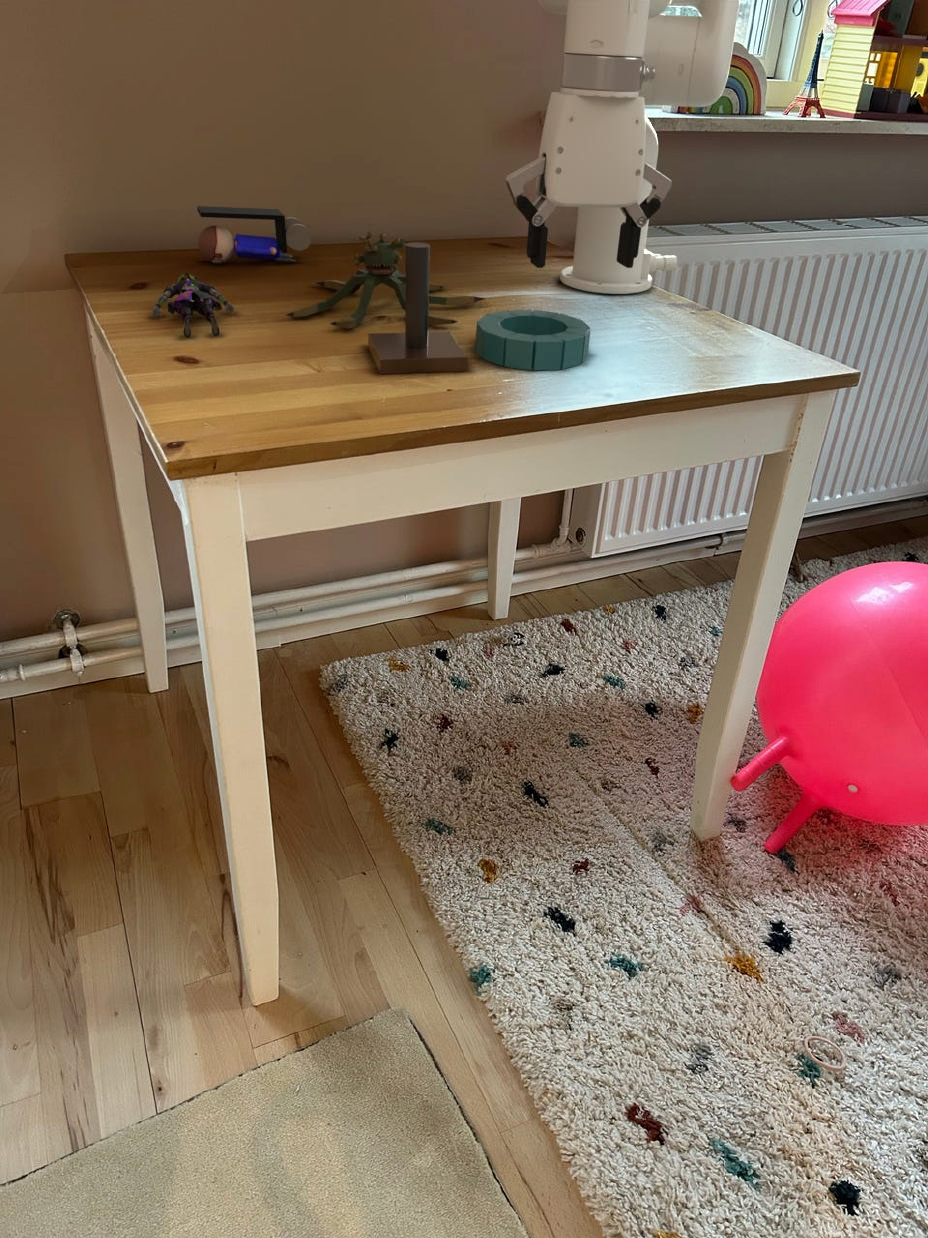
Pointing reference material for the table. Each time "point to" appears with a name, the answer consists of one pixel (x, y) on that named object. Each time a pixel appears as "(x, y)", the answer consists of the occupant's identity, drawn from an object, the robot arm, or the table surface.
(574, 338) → the ring
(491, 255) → the table surface
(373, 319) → the table surface
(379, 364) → the stand
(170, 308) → the character figure
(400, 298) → the octopus toy
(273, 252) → the figurine character
